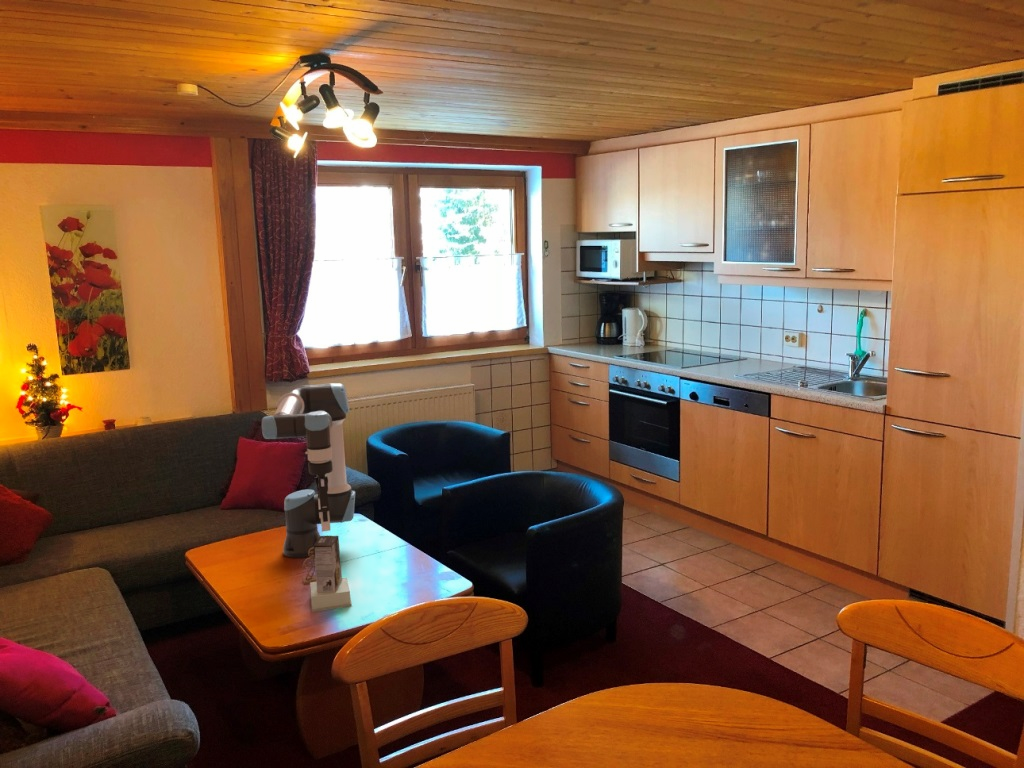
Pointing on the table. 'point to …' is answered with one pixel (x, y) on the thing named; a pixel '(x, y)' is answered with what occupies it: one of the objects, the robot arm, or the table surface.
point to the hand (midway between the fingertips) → (324, 524)
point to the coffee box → (327, 564)
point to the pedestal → (330, 597)
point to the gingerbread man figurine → (310, 578)
